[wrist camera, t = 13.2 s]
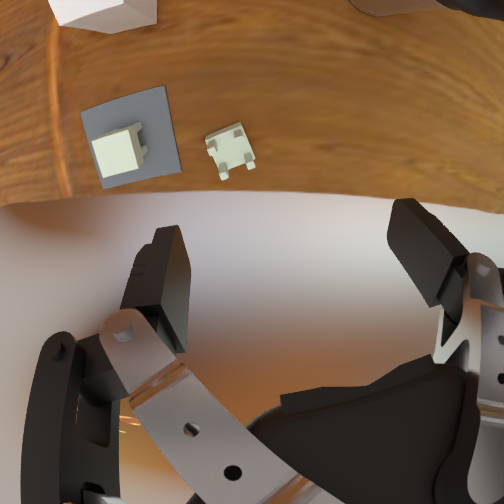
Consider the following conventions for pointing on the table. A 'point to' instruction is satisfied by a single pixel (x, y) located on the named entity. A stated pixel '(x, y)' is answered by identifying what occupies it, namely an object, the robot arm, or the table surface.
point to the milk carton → (105, 14)
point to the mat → (152, 133)
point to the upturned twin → (230, 149)
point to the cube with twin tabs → (119, 150)
